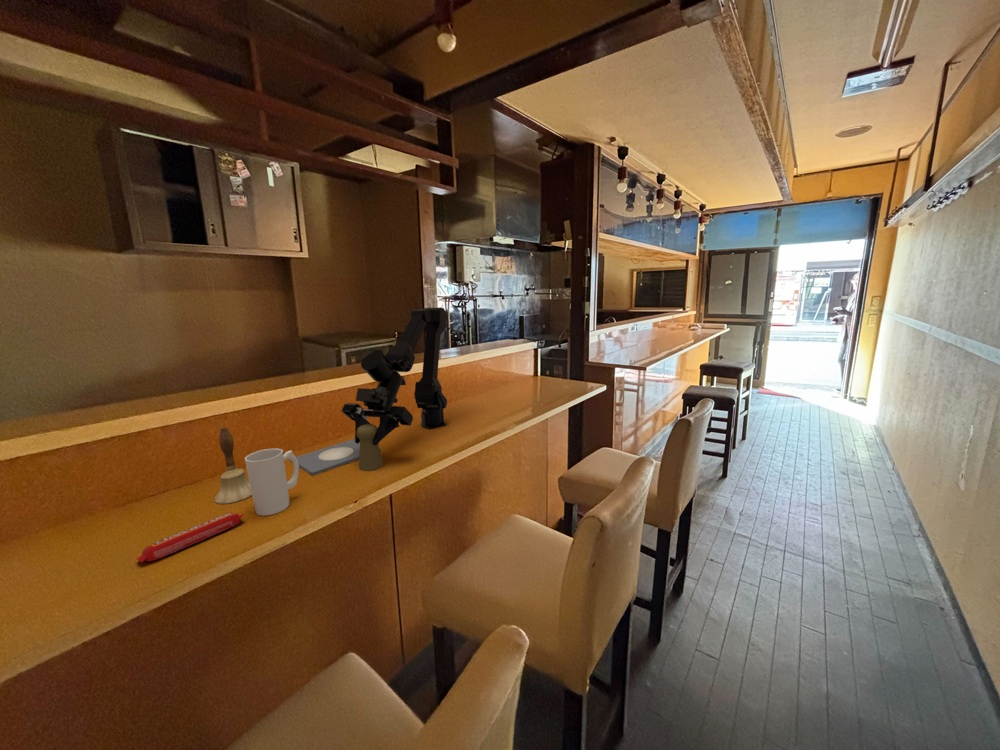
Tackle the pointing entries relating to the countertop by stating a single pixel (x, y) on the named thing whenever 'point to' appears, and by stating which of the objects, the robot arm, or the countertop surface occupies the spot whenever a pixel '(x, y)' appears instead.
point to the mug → (270, 479)
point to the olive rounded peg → (368, 448)
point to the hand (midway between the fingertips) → (365, 443)
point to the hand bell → (231, 474)
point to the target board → (329, 457)
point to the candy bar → (189, 537)
